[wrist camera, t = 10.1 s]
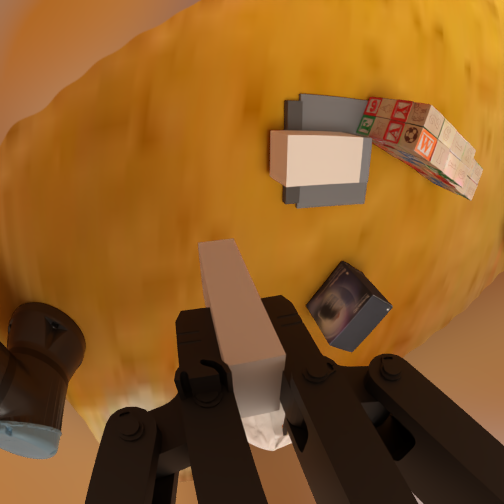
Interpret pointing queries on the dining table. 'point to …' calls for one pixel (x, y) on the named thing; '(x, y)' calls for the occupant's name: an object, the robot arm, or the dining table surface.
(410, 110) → the stack of blocks
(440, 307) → the dining table surface
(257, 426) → the storage basket
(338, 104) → the pad
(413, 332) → the dining table surface
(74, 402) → the dining table surface
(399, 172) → the dining table surface
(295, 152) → the tall block
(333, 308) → the small box
